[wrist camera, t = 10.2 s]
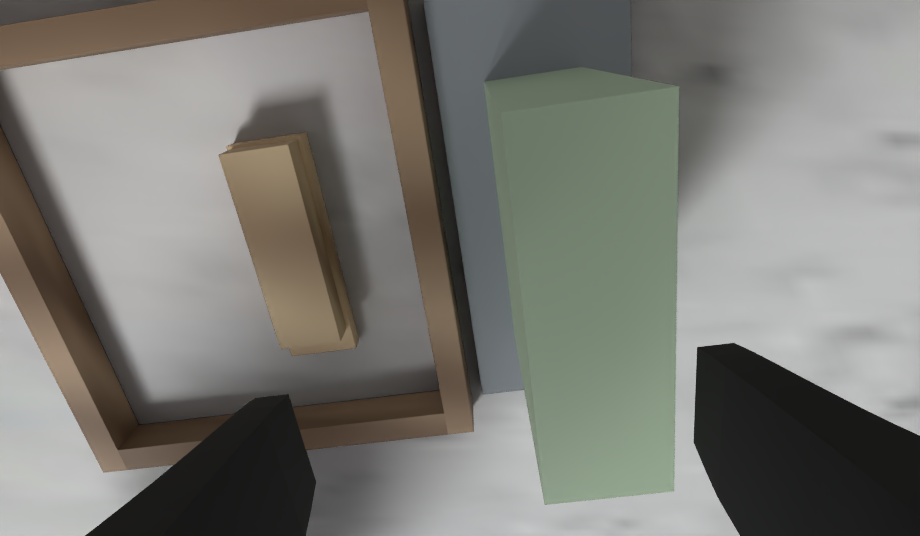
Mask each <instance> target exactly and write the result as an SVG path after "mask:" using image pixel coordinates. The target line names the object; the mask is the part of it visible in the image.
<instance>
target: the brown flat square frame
mask: <svg viewBox="0 0 920 536" xmlns="http://www.w3.org/2000/svg"><path fill="white" fill-rule="evenodd" d="M368 11H369V16H370V21H371V26H372V32H373V37H374V42H375V48H376V53H377V58H378V64H379V69H380V74H381V80H382V85H383V90H384V95H385V101H386V106H387V111H388V117H389V122H390V127H391V133H392V138H393V143H394V149H395V154H396V159H397V165H398V170H399V175H400V181H401V186H402V191H403V197H404V202H405V207H406V213H407V218H408V223H409V229H410V234H411V239H412V245H413V250H414V255H415V261H416V266H417V271H418V277H419V282H420V287H421V293H422V298H423V303H424V309H425V314H426V319H427V324H428V330H429V335H430V340H431V346H432V351H433V356H434V362H435V367H436V372H437V378H438V383H439V388H440V390H439V391H430V392H422V393H413V394H405V395H396V396H387V397H379V398H370V399H361V400H353V401H344V402H335V403H327V404H318V405H309V406H301V407H293V410H294V414H295V417H296V420H297V423H298V426H299V429H300V433H301V436H302V439H303V442H304V445H305V449H306V450H311V449H320V448H329V447H338V446H347V445H357V444H366V443H375V442H384V441H393V440H402V439H411V438H420V437H429V436H438V435H447V434H456V433H465V432H474V421H473V403H472V397H471V391H470V385H469V378H468V372H467V366H466V360H465V354H464V347H463V341H462V335H461V329H460V323H459V316H458V310H457V304H456V298H455V292H454V285H453V279H452V273H451V267H450V261H449V254H448V248H447V242H446V236H445V230H444V223H443V217H442V211H441V205H440V199H439V192H438V186H437V180H436V174H435V168H434V161H433V155H432V149H431V143H430V137H429V130H428V124H427V118H426V112H425V106H424V99H423V93H422V87H421V81H420V75H419V68H418V62H417V56H416V50H415V44H414V37H413V31H412V25H411V19H410V13H409V6H408V0H154V1H148V2H142V3H136V4H130V5H124V6H118V7H112V8H106V9H99V10H93V11H87V12H81V13H75V14H69V15H63V16H57V17H51V18H45V19H39V20H32V21H26V22H20V23H14V24H8V25H2V26H0V70H3V69H10V68H16V67H22V66H29V65H35V64H41V63H47V62H54V61H60V60H66V59H73V58H79V57H85V56H91V55H98V54H104V53H110V52H117V51H123V50H129V49H135V48H142V47H148V46H154V45H161V44H167V43H173V42H179V41H186V40H192V39H198V38H204V37H211V36H217V35H223V34H230V33H236V32H242V31H248V30H255V29H261V28H267V27H274V26H280V25H286V24H292V23H299V22H305V21H311V20H318V19H324V18H330V17H336V16H343V15H349V14H355V13H362V12H368ZM0 273H1V275H2V277H3V279H4V281H5V283H6V285H7V287H8V289H9V291H10V293H11V295H12V297H13V298H14V300H15V302H16V304H17V306H18V308H19V310H20V312H21V314H22V316H23V318H24V320H25V322H26V324H27V326H28V327H29V329H30V331H31V333H32V335H33V337H34V339H35V341H36V343H37V345H38V347H39V349H40V351H41V353H42V355H43V357H44V358H45V360H46V362H47V364H48V366H49V368H50V370H51V372H52V374H53V376H54V378H55V380H56V382H57V384H58V386H59V387H60V389H61V391H62V393H63V395H64V397H65V399H66V401H67V403H68V405H69V407H70V409H71V411H72V413H73V415H74V416H75V418H76V420H77V422H78V424H79V426H80V428H81V430H82V432H83V434H84V436H85V438H86V440H87V442H88V444H89V446H90V447H91V449H92V451H93V453H94V455H95V457H96V459H97V461H98V463H99V465H100V467H101V469H102V471H103V472H112V471H122V470H131V469H140V468H149V467H158V466H167V465H175V464H176V463H177V462H178V461H179V460H181V459H182V458H183V457H184V456H185V455H186V454H188V453H189V452H190V451H191V450H192V449H194V448H195V447H196V446H197V445H198V444H200V443H201V442H202V441H203V440H204V439H205V438H207V437H208V436H209V435H210V434H211V433H212V432H214V431H215V430H216V429H217V428H218V427H220V426H221V425H222V424H223V423H224V422H225V421H227V420H228V419H229V418H230V417H232V416H233V415H234V414H232V415H223V416H214V417H206V418H197V419H188V420H180V421H171V422H162V423H154V424H145V425H139V424H138V422H137V420H136V418H135V416H134V414H133V412H132V409H131V407H130V405H129V403H128V401H127V399H126V396H125V394H124V392H123V390H122V388H121V386H120V383H119V381H118V379H117V377H116V375H115V373H114V370H113V368H112V366H111V364H110V362H109V360H108V358H107V355H106V353H105V351H104V349H103V347H102V345H101V342H100V340H99V338H98V336H97V334H96V332H95V329H94V327H93V325H92V323H91V321H90V319H89V317H88V314H87V312H86V310H85V308H84V306H83V304H82V301H81V299H80V297H79V295H78V293H77V291H76V288H75V286H74V284H73V282H72V280H71V278H70V276H69V273H68V271H67V269H66V267H65V265H64V263H63V260H62V258H61V256H60V254H59V252H58V250H57V247H56V245H55V243H54V241H53V239H52V237H51V234H50V232H49V230H48V228H47V226H46V224H45V222H44V219H43V217H42V215H41V213H40V211H39V209H38V206H37V204H36V202H35V200H34V198H33V196H32V193H31V191H30V189H29V187H28V185H27V183H26V181H25V178H24V176H23V174H22V172H21V170H20V168H19V165H18V163H17V161H16V159H15V157H14V155H13V152H12V150H11V148H10V146H9V144H8V142H7V140H6V137H5V135H4V133H3V131H2V129H1V127H0Z"/></svg>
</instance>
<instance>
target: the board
mask: <svg viewBox="0 0 920 536" xmlns="http://www.w3.org/2000/svg"><path fill="white" fill-rule="evenodd" d="M484 87H485V96H486V104H487V112H488V120H489V129H490V137H491V145H492V153H493V161H494V170H495V178H496V186H497V194H498V203H499V211H500V219H501V227H502V236H503V244H504V252H505V260H506V269H507V277H508V285H509V293H510V302H511V310H512V318H513V326H514V334H515V340H516V346H517V351H518V357H519V363H520V368H521V374H522V380H523V385H524V391H525V396H526V402H527V408H528V413H529V419H530V425H531V430H532V436H533V441H534V447H535V453H536V458H537V464H538V470H539V475H540V481H541V486H542V492H543V498H544V503H545V505H547V504H557V503H567V502H576V501H586V500H595V499H605V498H614V497H624V496H634V495H643V494H653V493H662V492H672V491H674V459H675V379H676V300H677V220H678V141H679V86H675V85H670V84H665V83H660V82H655V81H650V80H645V79H640V78H635V77H630V76H625V75H620V74H615V73H610V72H605V71H600V70H595V69H590V68H585V67H577V68H571V69H564V70H558V71H551V72H545V73H538V74H531V75H525V76H518V77H512V78H505V79H499V80H492V81H486V82H484Z"/></svg>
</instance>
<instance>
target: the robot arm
mask: <svg viewBox="0 0 920 536" xmlns="http://www.w3.org/2000/svg"><path fill="white" fill-rule="evenodd" d="M694 444H695V446H696V449H697V451H698V453H699V456H700V458H701V461H702V463H703V465H704V468H705V470H706V472H707V475H708V477H709V479H710V481H711V483H712V486H713V488H714V490H715V492H716V494H717V497H718V498H719V500H720V502H721V504H722V505H723V507H724V509H725V511H726V512H727V514H728V516H729V517H730V519H731V521H732V523H733V524H734V526H735V528H736V529H737V531H738V533H739V534H740V536H920V436H919V435H917V434H915V433H912V432H910V431H908V430H906V429H904V428H902V427H899V426H897V425H895V424H893V423H891V422H889V421H887V420H885V419H883V418H881V417H879V416H877V415H874V414H872V413H870V412H868V411H866V410H864V409H862V408H860V407H858V406H856V405H854V404H852V403H850V402H848V401H846V400H844V399H843V398H841V397H839V396H837V395H835V394H833V393H831V392H829V391H827V390H825V389H823V388H821V387H819V386H817V385H815V384H814V383H812V382H810V381H808V380H806V379H804V378H802V377H800V376H798V375H796V374H794V373H793V372H791V371H789V370H787V369H785V368H783V367H781V366H779V365H777V364H775V363H774V362H772V361H770V360H768V359H766V358H764V357H762V356H760V355H758V354H756V353H754V352H752V351H750V350H748V349H746V348H744V347H741V346H739V345H737V344H735V343H730V344H722V345H713V346H704V347H697V369H696V396H695V422H694ZM315 485H316V480H315V477H314V474H313V471H312V468H311V464H310V461H309V458H308V455H307V452H306V449H305V445H304V442H303V439H302V436H301V433H300V429H299V426H298V423H297V420H296V417H295V414H294V410H293V407H292V404H291V401H290V398H289V394H286V395H278V396H269V397H260V398H255V399H254V400H252V401H251V402H249V403H248V404H247V405H245V406H244V407H243V408H241V409H240V410H239V411H238V412H236V413H235V414H234V415H233V416H232V417H230V418H229V419H228V420H227V421H225V422H224V423H223V424H222V425H221V426H220V427H218V428H217V429H216V430H215V431H214V432H212V433H211V434H210V435H209V436H208V437H207V438H205V439H204V440H203V441H202V442H201V443H200V444H198V445H197V446H196V447H195V448H194V449H192V450H191V451H190V452H189V453H188V454H186V455H185V456H184V457H183V458H182V459H181V460H179V461H178V462H177V463H176V464H175V465H173V466H172V467H171V468H170V469H169V470H167V471H166V472H165V473H164V474H163V475H162V476H160V477H159V478H158V479H157V480H155V481H154V482H153V483H152V484H150V485H149V486H148V487H147V488H145V489H144V490H143V491H142V492H140V493H139V494H138V495H137V496H135V497H134V498H133V499H131V500H130V501H129V502H128V503H126V504H125V505H124V506H123V507H121V508H120V509H119V510H118V511H116V512H115V513H114V514H112V515H111V516H110V517H109V518H107V519H106V520H105V521H104V522H102V523H101V524H100V525H99V526H97V527H96V528H95V529H93V530H92V531H91V532H89V533H88V534H87V535H85V536H306V531H307V527H308V522H309V517H310V512H311V507H312V501H313V496H314V490H315Z"/></svg>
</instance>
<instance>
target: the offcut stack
mask: <svg viewBox="0 0 920 536" xmlns="http://www.w3.org/2000/svg"><path fill="white" fill-rule="evenodd" d="M226 148H227V151H226V152H224V153H222V154H220V155H219V158H220V161H221V165H222V168H223V171H224V174H225V177H226V180H227V183H228V186H229V189H230V193H231V196H232V199H233V202H234V205H235V208H236V211H237V214H238V217H239V221H240V224H241V227H242V230H243V233H244V236H245V239H246V242H247V246H248V249H249V252H250V255H251V258H252V261H253V264H254V267H255V270H256V274H257V277H258V280H259V283H260V286H261V289H262V292H263V295H264V298H265V302H266V305H267V308H268V311H269V314H270V317H271V320H272V323H273V326H274V330H275V333H276V336H277V339H278V342H279V345H280V348H281V349H288V348H289V349H290V352H291V355H292V356H296V355H305V354H313V353H321V352H329V351H337V350H345V349H353V348H356V346H357V343H358V341H359V338H358V334H357V330H356V326H355V322H354V318H353V314H352V310H351V306H350V302H349V298H348V294H347V291H346V287H345V283H344V279H343V275H342V271H341V267H340V263H339V259H338V255H337V251H336V247H335V243H334V239H333V235H332V231H331V227H330V223H329V219H328V215H327V211H326V207H325V203H324V199H323V196H322V192H321V188H320V184H319V180H318V176H317V172H316V168H315V164H314V160H313V156H312V152H311V148H310V144H309V140H308V136H307V132H304V133H298V134H291V135H284V136H278V137H271V138H265V139H258V140H251V141H245V142H238V143H233V144H231V145H229V146H226Z"/></svg>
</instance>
